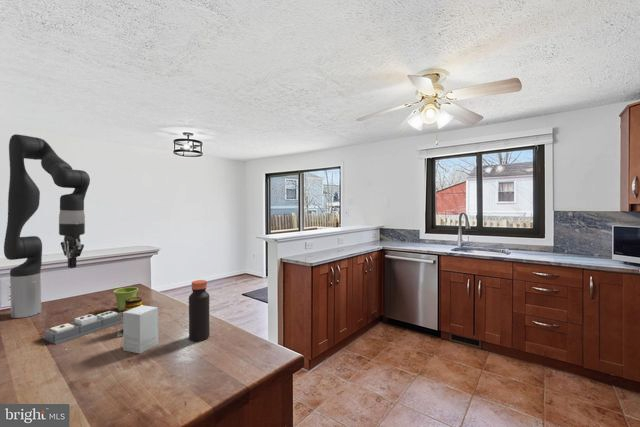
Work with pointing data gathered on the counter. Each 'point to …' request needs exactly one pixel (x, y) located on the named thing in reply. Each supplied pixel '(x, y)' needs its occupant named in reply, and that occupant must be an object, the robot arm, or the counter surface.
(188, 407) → the counter surface
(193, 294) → the bottle
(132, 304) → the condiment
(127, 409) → the counter surface
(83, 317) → the tile two
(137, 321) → the supplement box
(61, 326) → the tile one
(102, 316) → the tile three
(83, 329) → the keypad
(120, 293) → the plant pot
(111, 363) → the counter surface
